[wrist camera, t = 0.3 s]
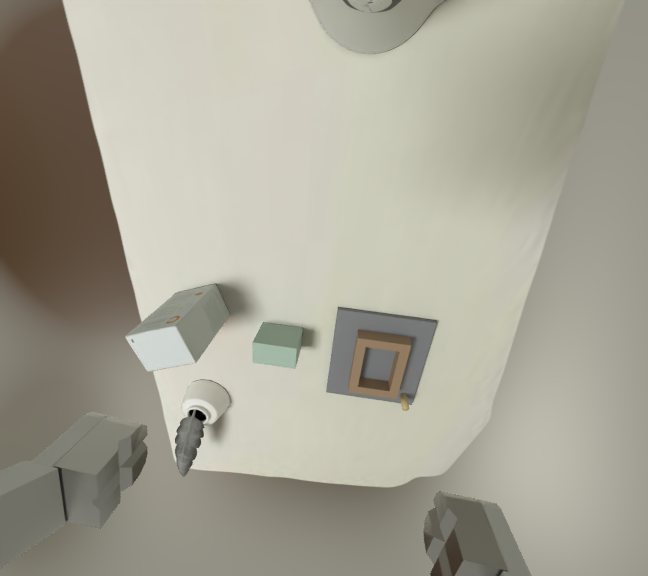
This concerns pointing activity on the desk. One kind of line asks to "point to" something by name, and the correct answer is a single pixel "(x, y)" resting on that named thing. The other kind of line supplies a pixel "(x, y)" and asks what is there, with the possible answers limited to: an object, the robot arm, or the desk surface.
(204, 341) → the small box
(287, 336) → the sage block
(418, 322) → the keyed plate
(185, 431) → the inkwell
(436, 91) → the desk surface
